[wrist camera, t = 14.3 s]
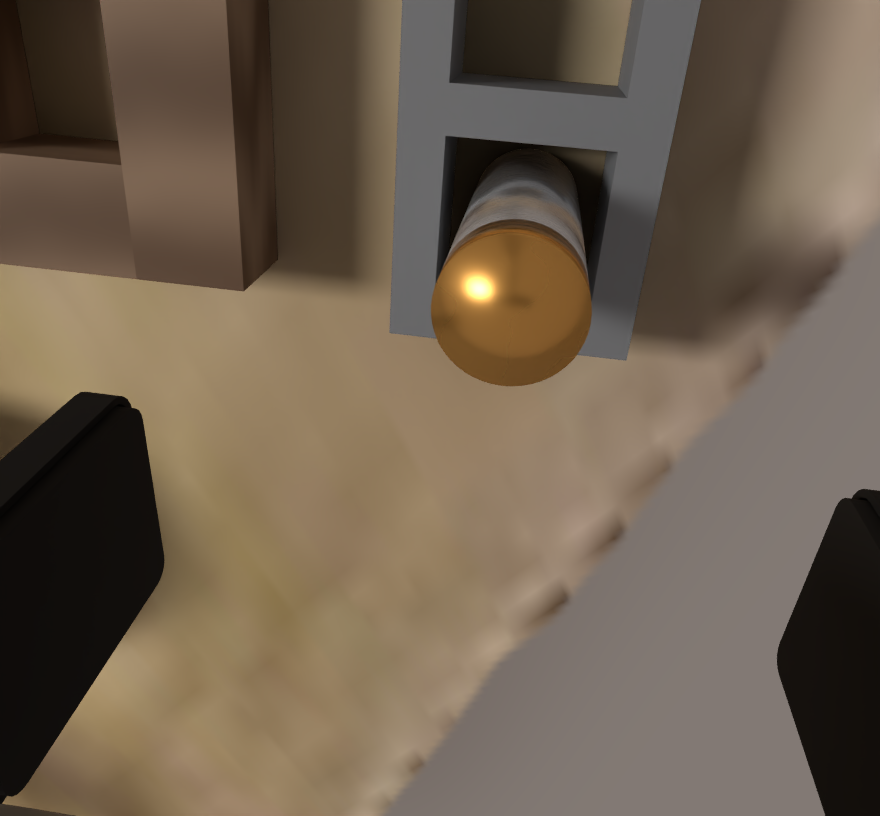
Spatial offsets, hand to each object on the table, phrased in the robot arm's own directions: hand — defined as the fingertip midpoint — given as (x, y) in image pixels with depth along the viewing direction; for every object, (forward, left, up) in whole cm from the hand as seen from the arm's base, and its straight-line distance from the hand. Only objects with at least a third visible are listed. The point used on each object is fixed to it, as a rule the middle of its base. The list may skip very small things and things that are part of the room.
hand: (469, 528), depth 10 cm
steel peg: (0, 0, -21) cm, 21 cm away
